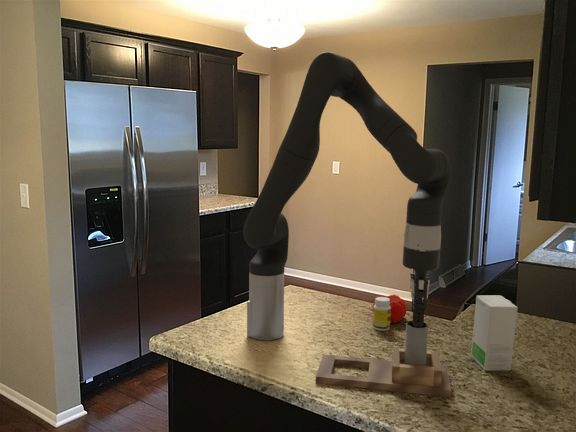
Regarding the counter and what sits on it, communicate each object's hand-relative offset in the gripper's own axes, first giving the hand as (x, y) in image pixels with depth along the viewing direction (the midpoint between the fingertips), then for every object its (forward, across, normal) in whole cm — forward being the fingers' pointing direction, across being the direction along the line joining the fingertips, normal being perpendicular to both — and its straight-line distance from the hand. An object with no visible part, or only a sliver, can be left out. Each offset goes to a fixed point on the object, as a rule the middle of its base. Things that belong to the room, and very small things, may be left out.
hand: (417, 318), depth 113 cm
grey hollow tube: (+12, 0, 0) cm, 12 cm away
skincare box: (+14, -13, +18) cm, 27 cm away
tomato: (+15, -39, -6) cm, 42 cm away
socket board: (+14, 0, -7) cm, 16 cm away
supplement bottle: (+14, -31, -8) cm, 35 cm away
